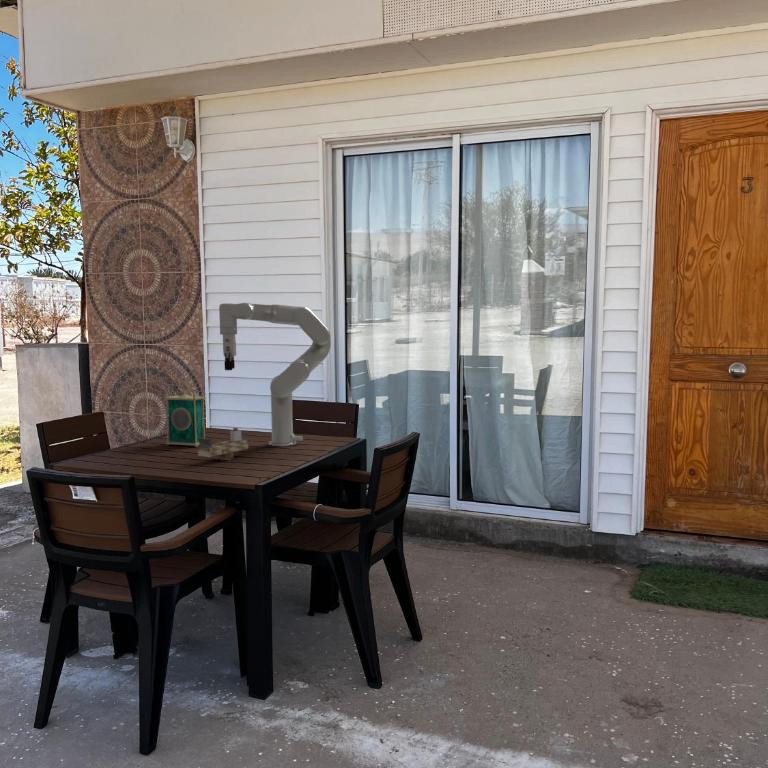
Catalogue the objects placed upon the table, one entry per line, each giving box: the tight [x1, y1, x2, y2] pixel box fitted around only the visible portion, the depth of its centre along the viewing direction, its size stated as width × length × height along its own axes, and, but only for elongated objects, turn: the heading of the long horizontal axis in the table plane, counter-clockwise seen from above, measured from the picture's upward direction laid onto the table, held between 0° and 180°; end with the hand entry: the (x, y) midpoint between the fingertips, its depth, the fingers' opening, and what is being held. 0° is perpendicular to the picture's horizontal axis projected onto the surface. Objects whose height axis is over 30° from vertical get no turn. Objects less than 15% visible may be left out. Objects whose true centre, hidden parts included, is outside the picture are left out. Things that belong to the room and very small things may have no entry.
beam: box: [197, 437, 249, 461], centre depth 312 cm, size 22×7×10 cm, turn 145°
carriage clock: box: [163, 379, 207, 448], centre depth 345 cm, size 17×9×30 cm, turn 70°
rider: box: [229, 427, 243, 443], centre depth 317 cm, size 4×2×7 cm, turn 145°
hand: (229, 369), depth 340 cm, fingers open, 9 cm apart
